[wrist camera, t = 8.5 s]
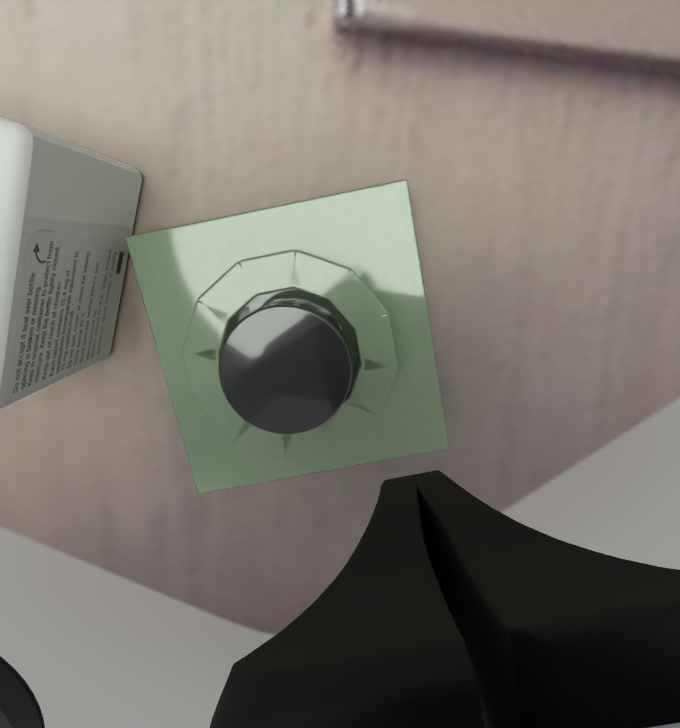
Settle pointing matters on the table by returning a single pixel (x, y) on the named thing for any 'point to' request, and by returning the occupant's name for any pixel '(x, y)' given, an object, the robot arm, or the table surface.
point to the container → (58, 256)
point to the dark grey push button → (286, 366)
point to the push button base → (312, 283)
